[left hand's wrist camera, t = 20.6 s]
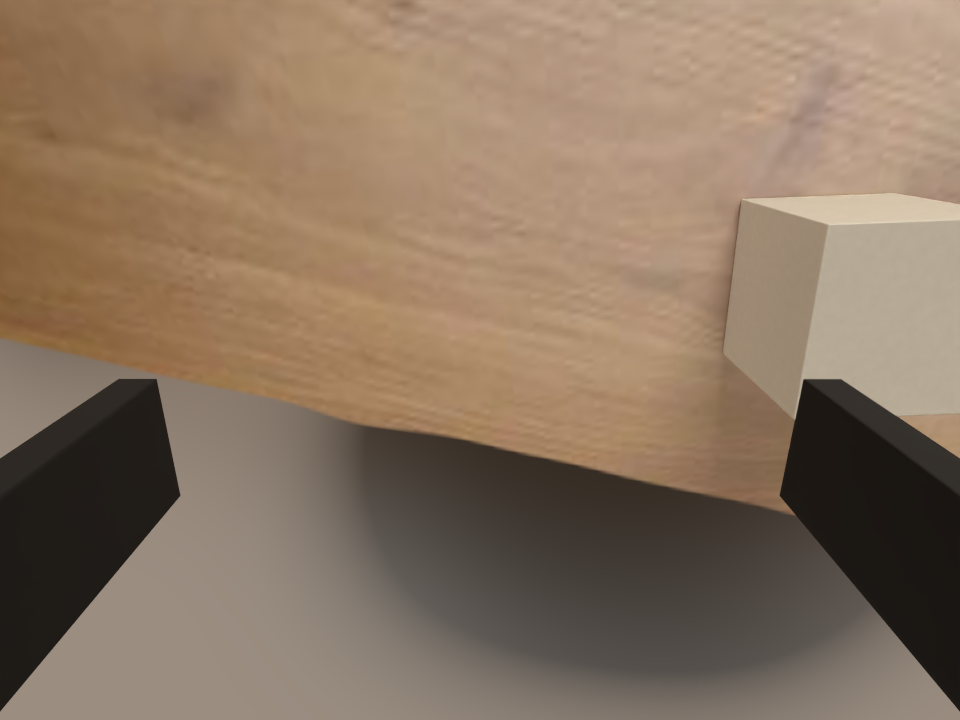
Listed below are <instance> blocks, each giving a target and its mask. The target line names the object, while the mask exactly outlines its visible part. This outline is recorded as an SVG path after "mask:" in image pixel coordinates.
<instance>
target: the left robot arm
mask: <svg viewBox="0 0 960 720" xmlns="http://www.w3.org/2000/svg"><path fill="white" fill-rule="evenodd" d="M179 497H180V492H179V487H178V482H177V477H176V472H175V467H174V462H173V457H172V453H171V448H170V443H169V438H168V433H167V428H166V423H165V418H164V413H163V409H162V404H161V399H160V394H159V389H158V384H157V379H118V380H117V381H115V382H114V383H112V384H111V385H109V386H108V387H106V388H105V389H103V390H102V391H100V392H99V393H97V394H96V395H94V396H93V397H91V398H90V399H88V400H87V401H85V402H84V403H82V404H81V405H79V406H78V407H76V408H75V409H73V410H72V411H70V412H69V413H67V414H66V415H65V416H63V417H61V418H60V419H59V420H57V421H56V422H54V423H53V424H51V425H50V426H48V427H47V428H45V429H44V430H42V431H41V432H39V433H38V434H36V435H35V436H33V437H32V438H30V439H29V440H27V441H26V442H24V443H23V444H21V445H20V446H18V447H17V448H15V449H14V450H12V451H11V452H9V453H8V454H6V455H5V456H3V457H2V458H0V711H1V710H2V709H3V707H4V706H5V705H6V704H7V703H8V701H9V700H10V699H11V698H12V697H13V695H14V694H15V693H16V692H17V691H18V689H19V688H20V687H21V686H22V685H23V683H24V682H25V681H26V680H27V679H28V677H29V676H30V675H31V674H32V673H33V671H34V670H35V669H36V668H37V667H38V665H39V664H40V663H41V662H42V661H43V659H44V658H45V657H46V656H47V655H48V653H49V652H50V651H51V650H52V649H53V647H54V646H55V645H56V644H57V643H58V641H59V640H60V639H61V638H62V637H63V635H64V634H65V633H66V632H67V631H68V629H69V628H70V627H71V626H72V625H73V624H74V622H75V621H76V620H77V619H78V617H79V616H80V615H81V614H82V613H83V612H84V610H85V609H86V608H87V607H88V606H89V604H90V603H91V602H92V601H93V600H94V598H95V597H96V596H97V595H98V594H99V592H100V591H101V590H102V589H103V588H104V586H105V585H106V584H107V583H108V582H109V580H110V579H111V578H112V577H113V576H114V574H115V573H116V572H117V571H118V570H119V568H120V567H121V566H122V565H123V564H124V562H125V561H126V560H127V559H128V558H129V556H130V555H131V554H132V553H133V552H134V550H135V549H136V548H137V547H138V546H139V544H140V543H141V542H142V541H143V540H144V538H145V537H146V536H147V535H148V534H149V533H150V531H151V530H152V529H153V528H154V526H155V525H156V524H157V523H158V522H159V521H160V519H161V518H162V517H163V516H164V515H165V513H166V512H167V511H168V510H169V508H170V507H171V506H172V505H173V504H174V503H175V501H176V500H177V499H178V498H179ZM780 497H781V498H782V499H783V500H784V501H785V503H786V504H787V505H788V506H789V507H790V509H791V510H792V511H793V512H794V513H795V515H796V516H797V517H798V518H799V519H800V521H801V522H802V523H803V524H804V525H805V526H806V528H807V529H808V530H809V531H810V533H811V534H812V535H813V536H814V537H815V539H816V540H817V541H818V542H819V543H820V544H821V546H822V547H823V548H824V549H825V550H826V552H827V553H828V554H829V555H830V556H831V558H832V559H833V560H834V561H835V562H836V564H837V565H838V566H839V567H840V568H841V570H842V571H843V572H844V573H845V574H846V576H847V577H848V578H849V579H850V580H851V582H852V583H853V584H854V585H855V586H856V588H857V589H858V590H859V591H860V592H861V594H862V595H863V596H864V597H865V598H866V600H867V601H868V602H869V603H870V604H871V606H872V607H873V608H874V609H875V610H876V612H877V613H878V614H879V615H880V616H881V618H882V619H883V620H884V621H885V622H886V624H887V625H888V626H889V627H890V628H891V630H892V631H893V632H894V633H895V634H896V636H897V637H898V638H899V639H900V640H901V641H902V643H903V644H904V645H905V646H906V647H907V649H908V650H909V651H910V652H911V653H912V655H913V656H914V657H915V658H916V659H917V661H918V662H919V663H920V664H921V665H922V667H923V668H924V669H925V670H926V671H927V673H928V674H929V675H930V676H931V677H932V679H933V680H934V681H935V682H936V683H937V685H938V686H939V687H940V688H941V689H942V691H943V692H944V693H945V694H946V695H947V697H948V698H949V699H950V700H951V701H952V703H953V704H954V705H955V706H956V707H957V709H958V710H959V711H960V458H958V457H957V456H955V455H954V454H952V453H951V452H949V451H948V450H946V449H945V448H943V447H942V446H940V445H939V444H937V443H936V442H934V441H933V440H931V439H930V438H928V437H927V436H925V435H924V434H922V433H921V432H919V431H918V430H916V429H915V428H913V427H912V426H910V425H909V424H907V423H906V422H904V421H903V420H901V419H900V418H899V417H897V416H896V415H894V414H893V413H891V412H890V411H888V410H887V409H885V408H884V407H882V406H881V405H879V404H878V403H876V402H875V401H873V400H872V399H870V398H869V397H867V396H866V395H864V394H863V393H861V392H860V391H858V390H857V389H855V388H854V387H852V386H851V385H849V384H848V383H846V382H845V381H843V380H842V379H803V384H802V389H801V394H800V399H799V403H798V408H797V413H796V418H795V423H794V428H793V433H792V438H791V443H790V448H789V452H788V457H787V462H786V467H785V472H784V477H783V482H782V487H781V492H780Z"/></svg>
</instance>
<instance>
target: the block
mask: <svg viewBox="0 0 960 720" xmlns="http://www.w3.org/2000/svg"><path fill="white" fill-rule="evenodd" d="M723 354H724V355H725V356H726V357H727V358H728V359H729V360H730V361H731V362H732V363H734V364H735V365H736V366H737V367H738V368H739V369H740V370H741V371H742V372H743V373H744V374H745V375H746V376H747V377H749V378H750V379H751V380H752V381H753V382H754V383H755V384H756V385H757V386H758V387H759V388H760V389H761V390H762V391H764V392H765V393H766V394H767V395H768V396H769V397H770V398H771V399H772V400H773V401H774V402H775V403H776V404H777V405H779V406H780V407H781V408H782V409H783V410H784V411H785V412H786V413H787V414H788V415H789V416H790V417H791V418H792V419H794V420H795V418H796V413H797V408H798V403H799V399H800V394H801V389H802V384H803V379H842V380H843V381H845V382H846V383H848V384H849V385H851V386H852V387H854V388H855V389H857V390H858V391H860V392H861V393H863V394H864V395H866V396H867V397H869V398H870V399H872V400H873V401H875V402H876V403H878V404H879V405H881V406H882V407H884V408H885V409H887V410H888V411H890V412H891V413H893V414H894V415H896V416H916V415H943V414H960V204H955V203H949V202H943V201H937V200H931V199H926V198H920V197H914V196H908V195H902V194H896V193H885V194H859V195H832V196H806V197H779V198H753V199H742V201H741V209H740V217H739V225H738V234H737V242H736V250H735V258H734V266H733V274H732V282H731V290H730V299H729V307H728V315H727V323H726V331H725V339H724V347H723Z"/></svg>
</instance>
